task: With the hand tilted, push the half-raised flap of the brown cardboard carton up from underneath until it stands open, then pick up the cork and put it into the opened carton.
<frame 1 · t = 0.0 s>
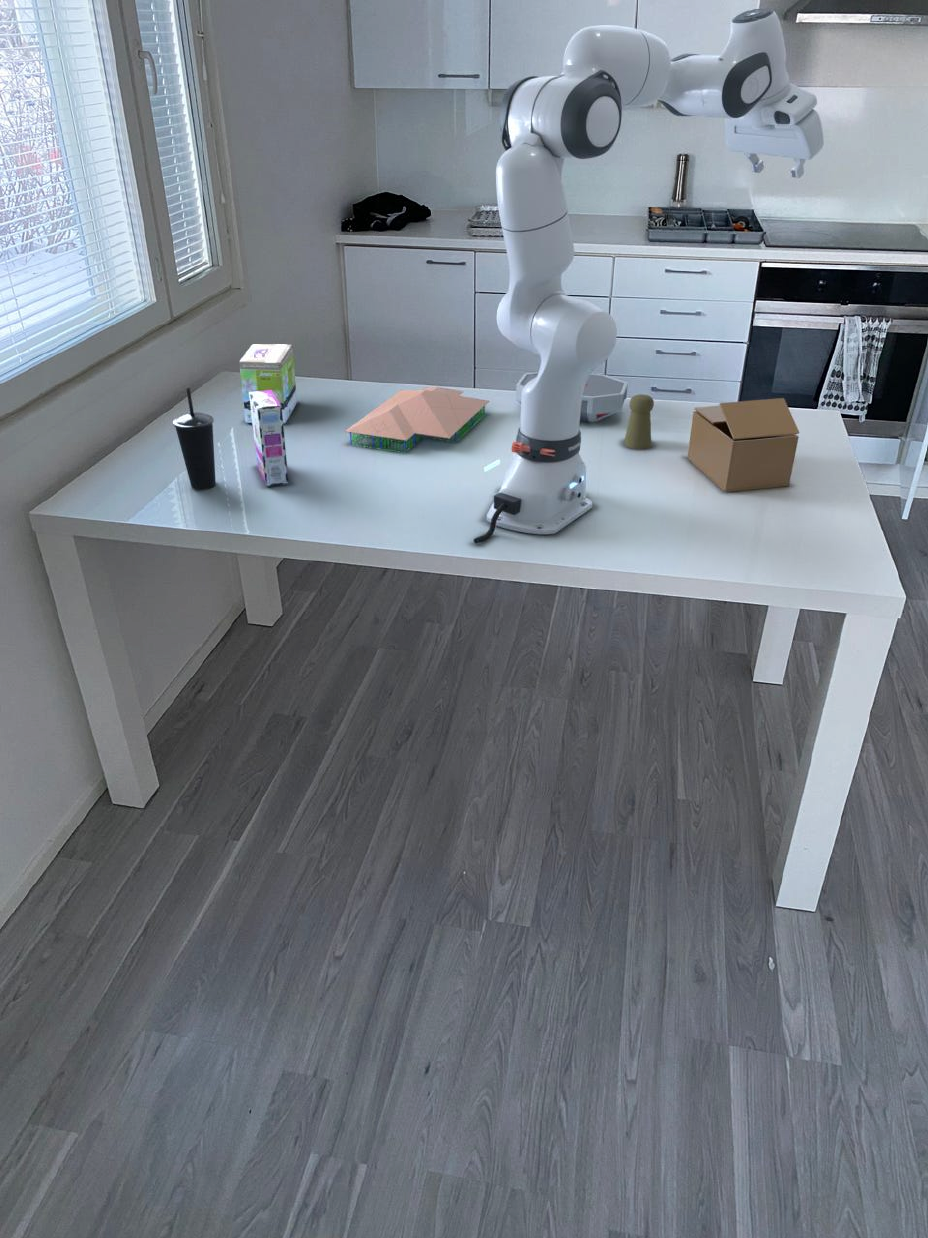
hand: (777, 173, 182), 54 cm above the table, tool tilted 30°, fingers open, 8 cm apart
cork: (637, 445, 208), on the table
first aid kit: (570, 414, 224), on the table
candy bar box: (273, 476, 193), on the table
tea box: (272, 413, 225), on the table
drinking cup: (203, 485, 189), on the table
carton: (736, 471, 195), on the table
flap: (759, 418, 184), point 13 cm above the table, hinge at 30.0°
house: (422, 427, 217), on the table
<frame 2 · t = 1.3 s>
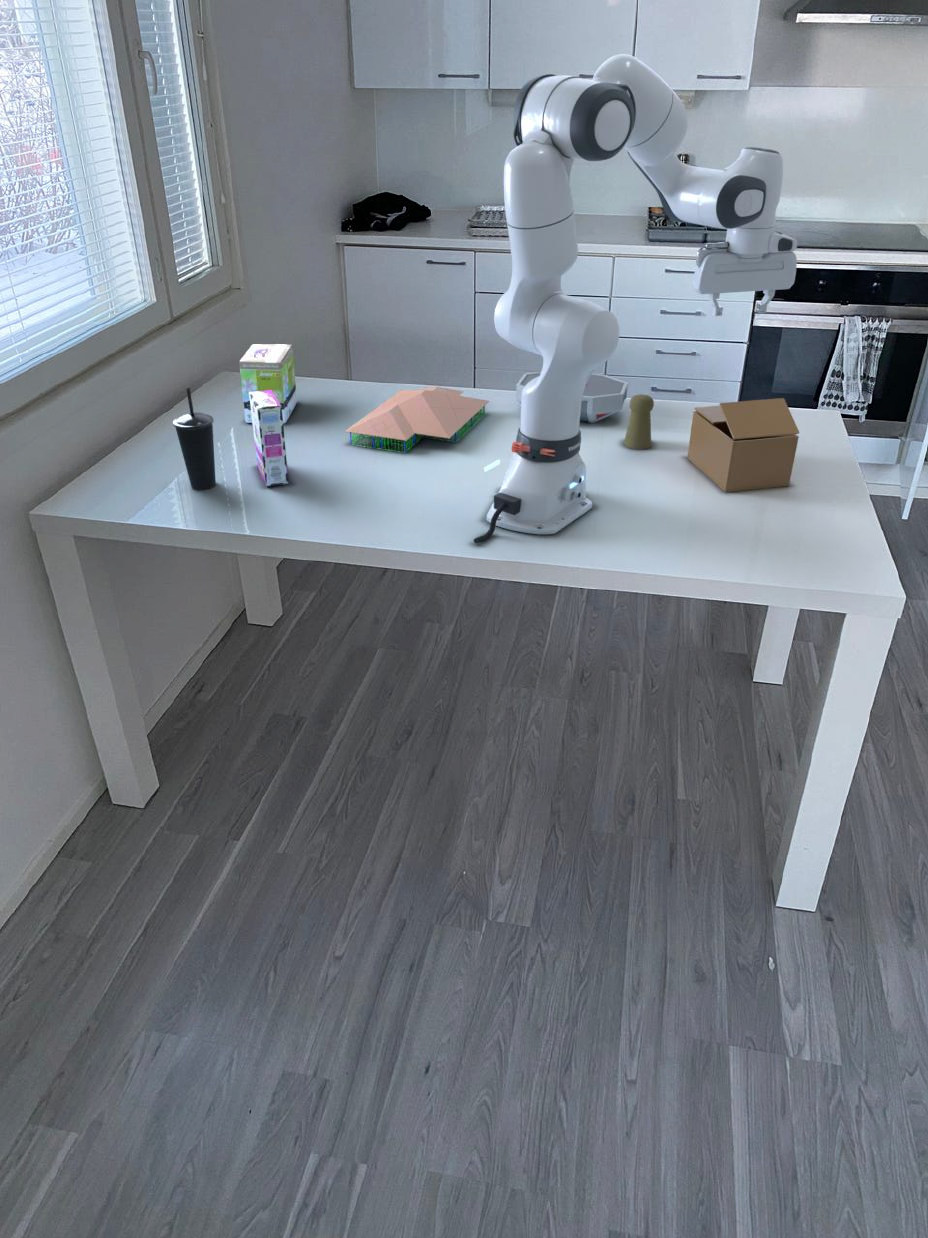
hand: (738, 313, 187), 30 cm above the table, tool pointing down, fingers open, 8 cm apart
nothing on the table moved.
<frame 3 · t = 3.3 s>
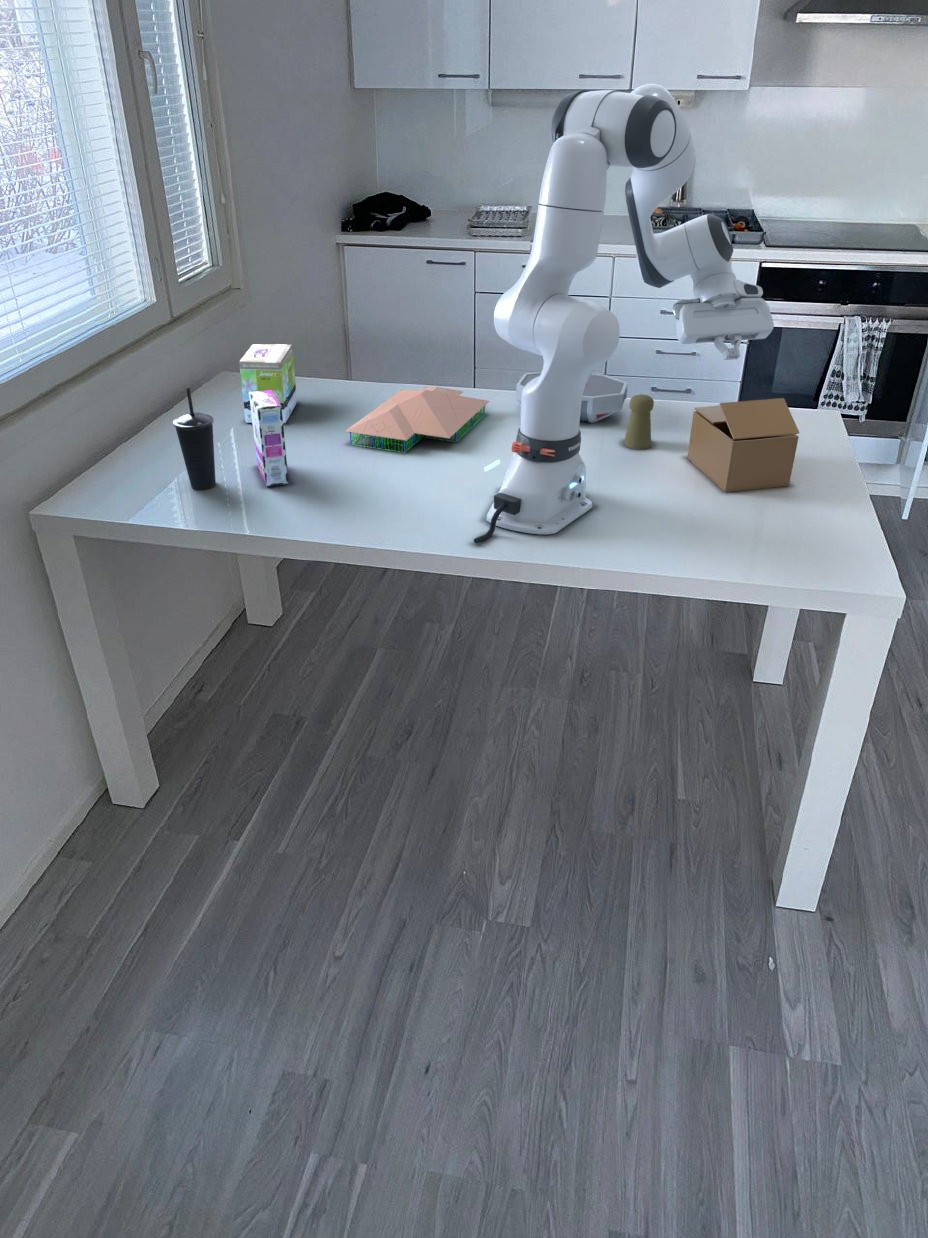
hand: (732, 358, 191), 21 cm above the table, tool tilted 45°, fingers closed
nothing on the table moved.
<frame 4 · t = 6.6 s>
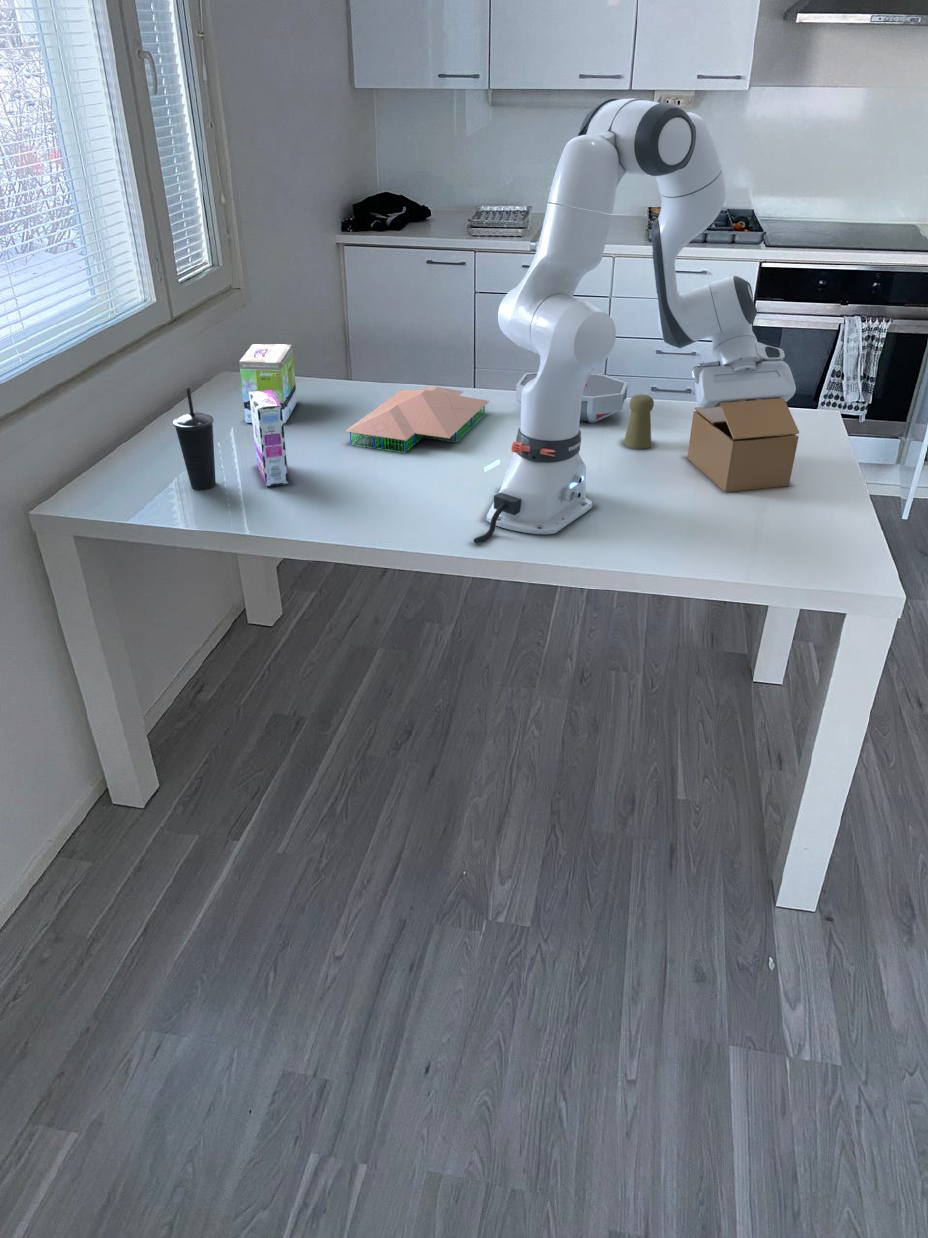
hand: (753, 423, 186), 12 cm above the table, tool tilted 45°, fingers closed, pressing on flap
flap: (759, 418, 184), point 13 cm above the table, hinge at 30.1°, touching gripper
everything else where it was.
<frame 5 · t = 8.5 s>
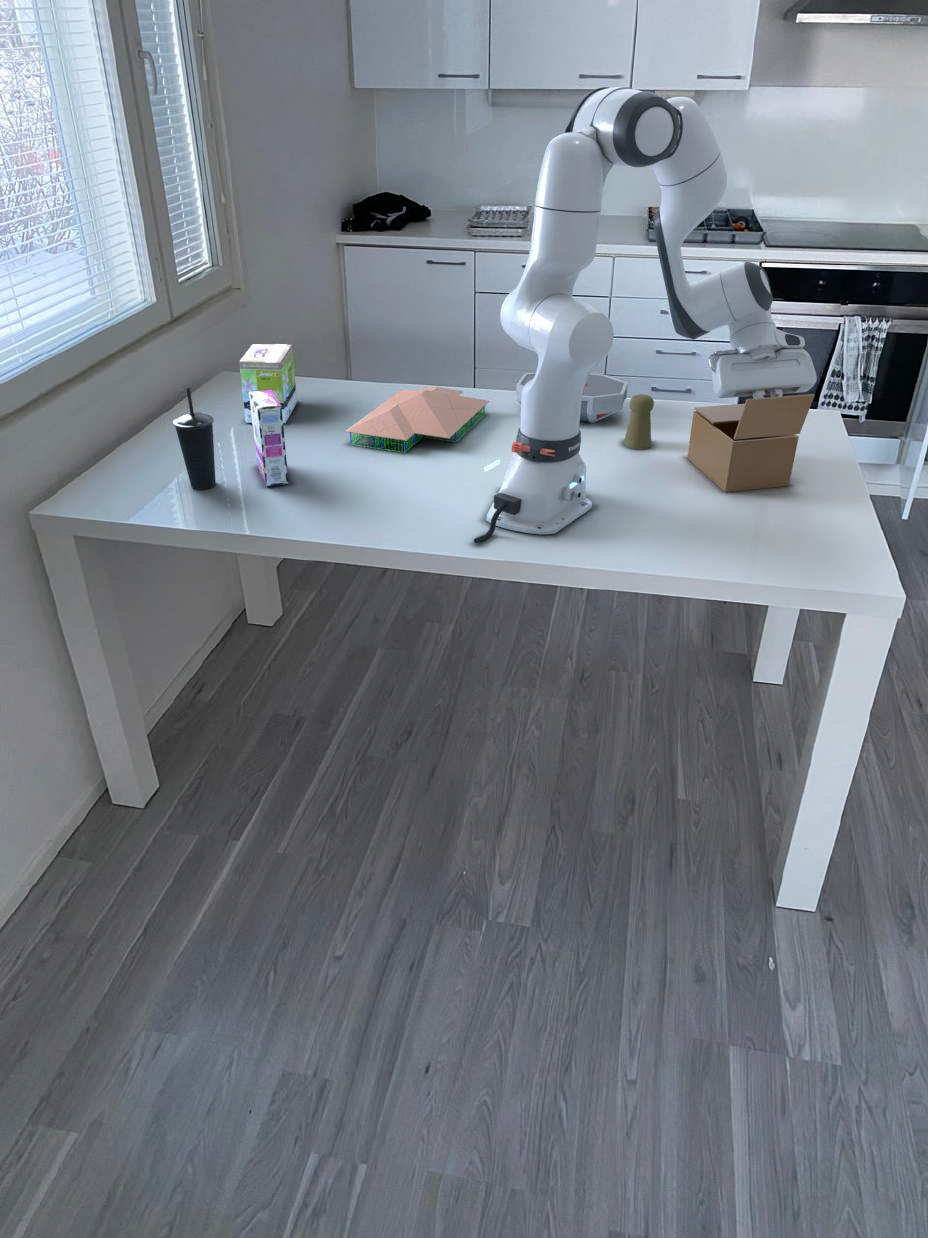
hand: (772, 413, 179), 16 cm above the table, tool tilted 45°, fingers closed, pressing on flap
flap: (773, 416, 178), point 15 cm above the table, hinge at 105.1°, touching gripper
everything else where it was.
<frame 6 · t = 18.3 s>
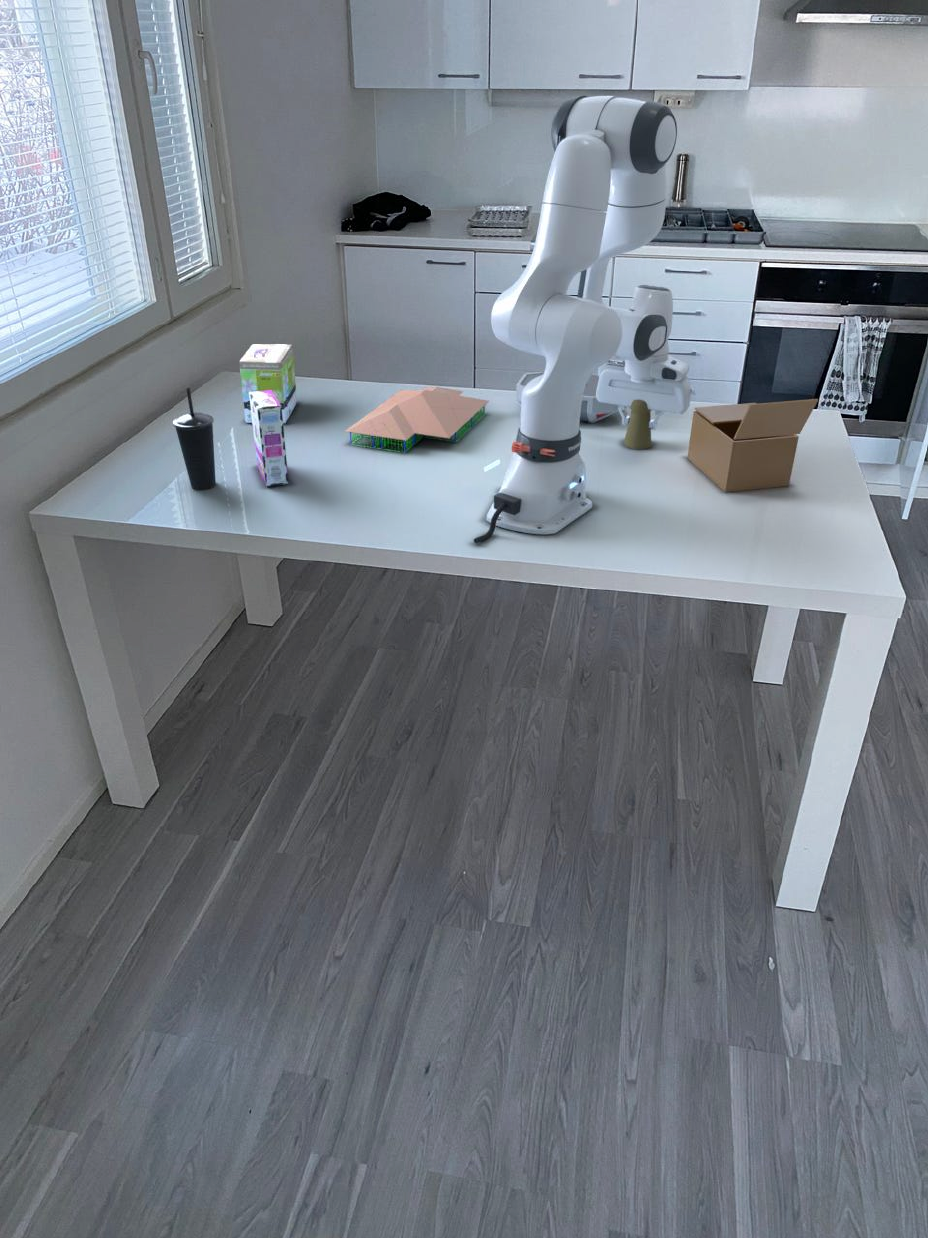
hand: (639, 426, 206), 4 cm above the table, tool pointing down, fingers closed on cork, 4 cm apart
cork: (637, 445, 208), on the table, touching gripper
flap: (775, 419, 178), point 15 cm above the table, hinge at 114.7°
everything else where it was.
when the fingers open (5 cm above the table, at t = 27.5 s): cork stays where it is, resting on carton.
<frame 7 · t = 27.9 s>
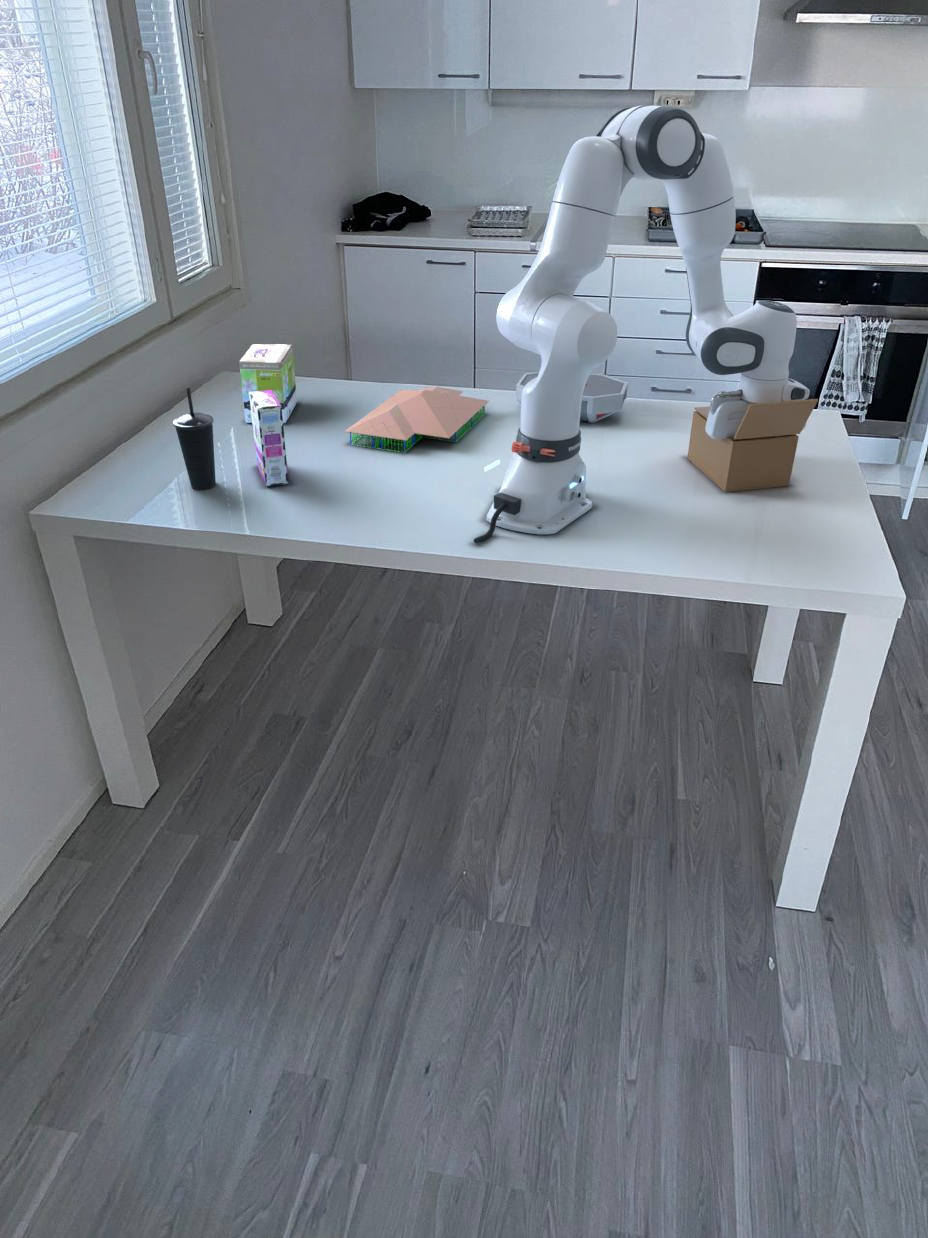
hand: (750, 455, 188), 5 cm above the table, tool pointing down, fingers open, 8 cm apart
cork: (745, 477, 191), resting on carton
everything else where it was.
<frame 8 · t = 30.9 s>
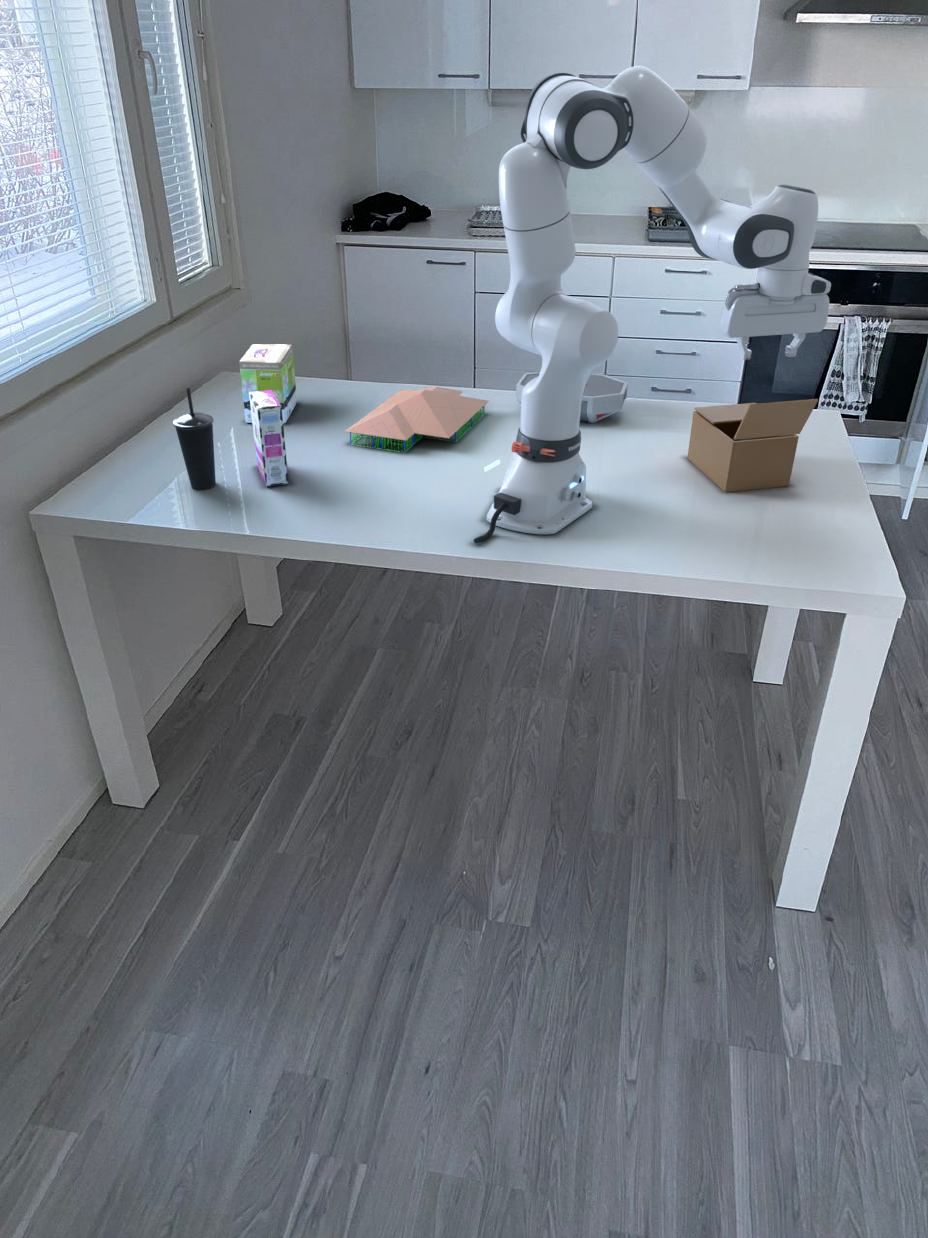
hand: (767, 357, 178), 25 cm above the table, tool pointing down, fingers open, 8 cm apart
nothing on the table moved.
at the end: flap at +115° (first picture: +30°); cork 0.3 cm from the target spot in the carton, point 0.3 cm above the carton's base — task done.
